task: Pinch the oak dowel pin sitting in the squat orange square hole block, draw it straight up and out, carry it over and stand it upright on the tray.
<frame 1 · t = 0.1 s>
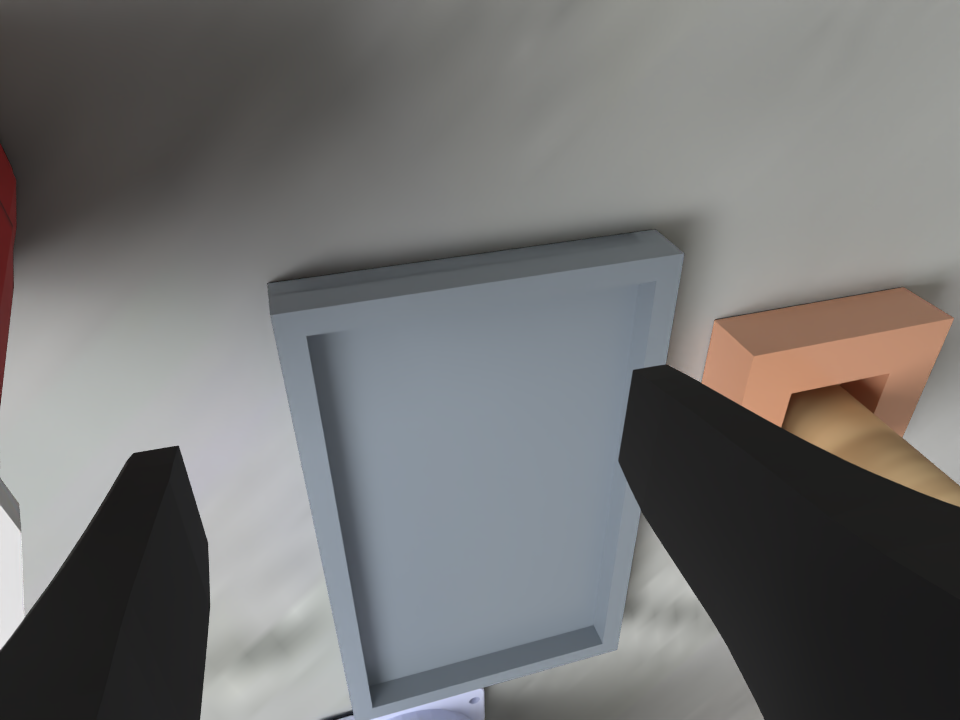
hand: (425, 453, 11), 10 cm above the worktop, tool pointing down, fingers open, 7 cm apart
orange square hole block: (786, 391, 29), on the worktop
tray: (477, 494, 27), on the worktop
dowel pin: (794, 398, 28), resting on orange square hole block
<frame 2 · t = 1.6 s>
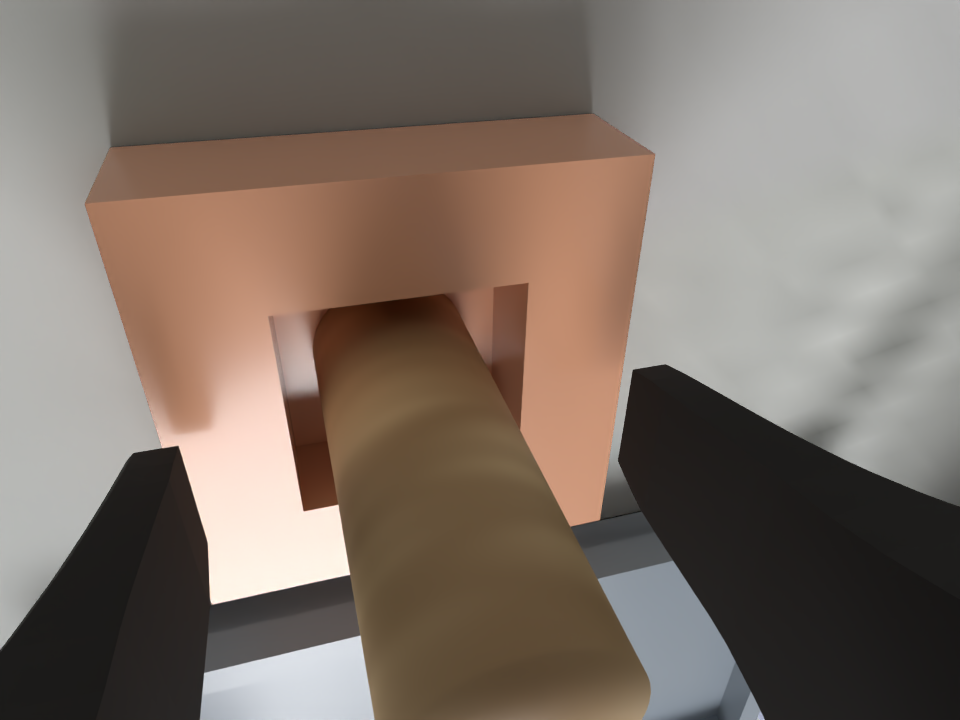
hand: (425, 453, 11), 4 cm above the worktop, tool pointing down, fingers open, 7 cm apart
orange square hole block: (386, 333, 14), on the worktop
tray: (475, 677, 22), on the worktop
dowel pin: (390, 346, 14), resting on orange square hole block
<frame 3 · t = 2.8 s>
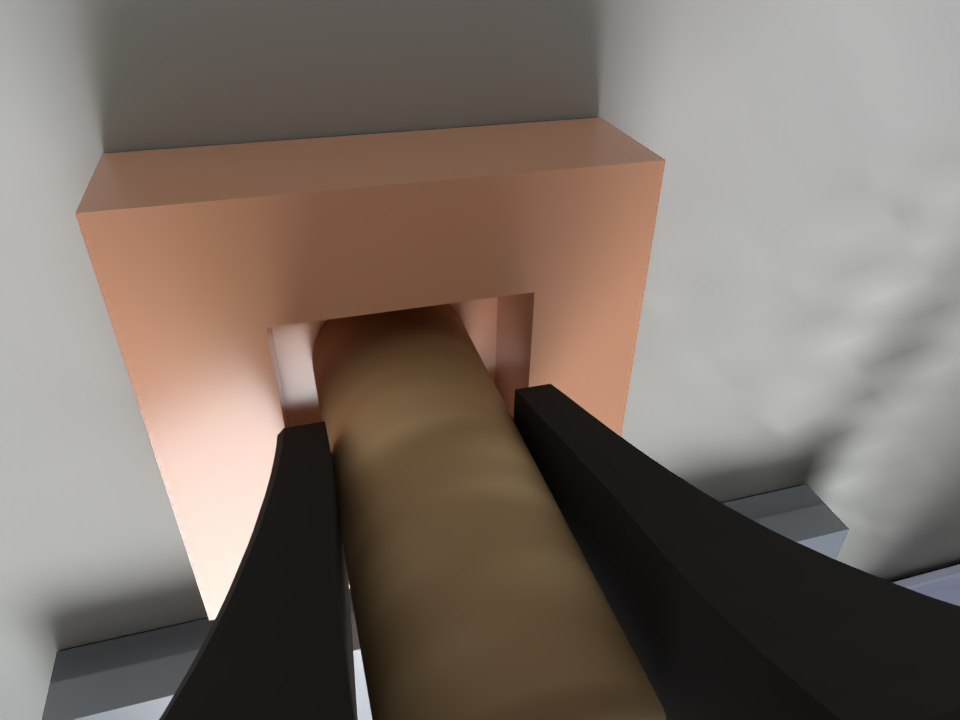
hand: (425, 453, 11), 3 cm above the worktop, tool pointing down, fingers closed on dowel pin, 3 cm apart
orange square hole block: (387, 342, 14), on the worktop
tray: (477, 687, 22), on the worktop
dowel pin: (392, 355, 14), resting on orange square hole block, touching gripper
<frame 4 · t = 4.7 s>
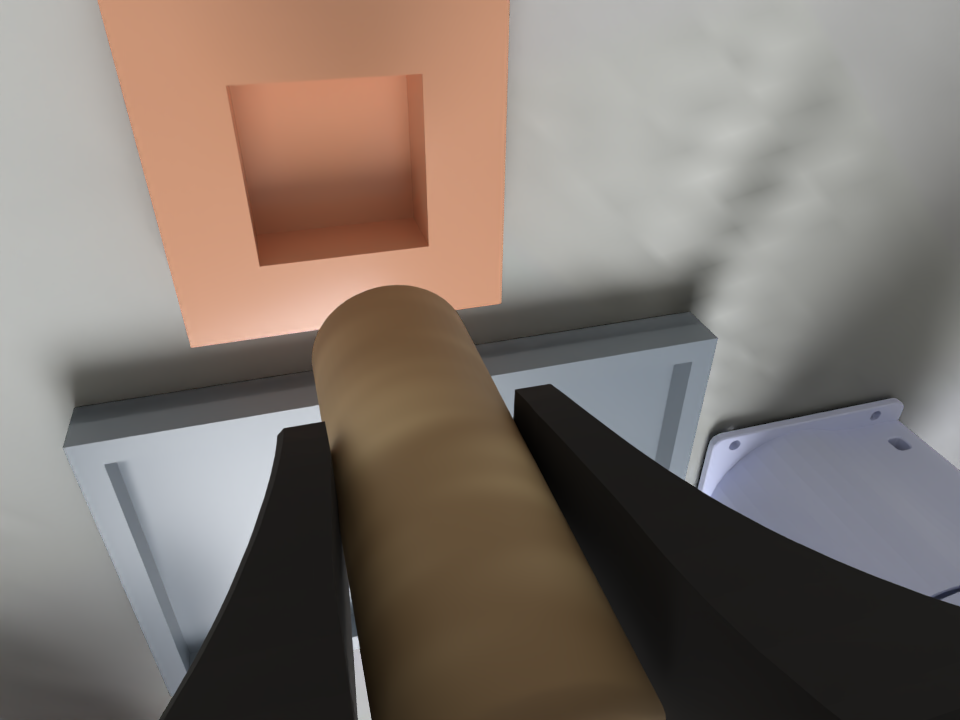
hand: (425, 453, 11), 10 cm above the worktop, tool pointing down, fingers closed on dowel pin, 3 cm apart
orange square hole block: (326, 143, 18), on the worktop
tray: (421, 489, 26), on the worktop
dowel pin: (391, 354, 14), point 7 cm above the worktop, touching gripper
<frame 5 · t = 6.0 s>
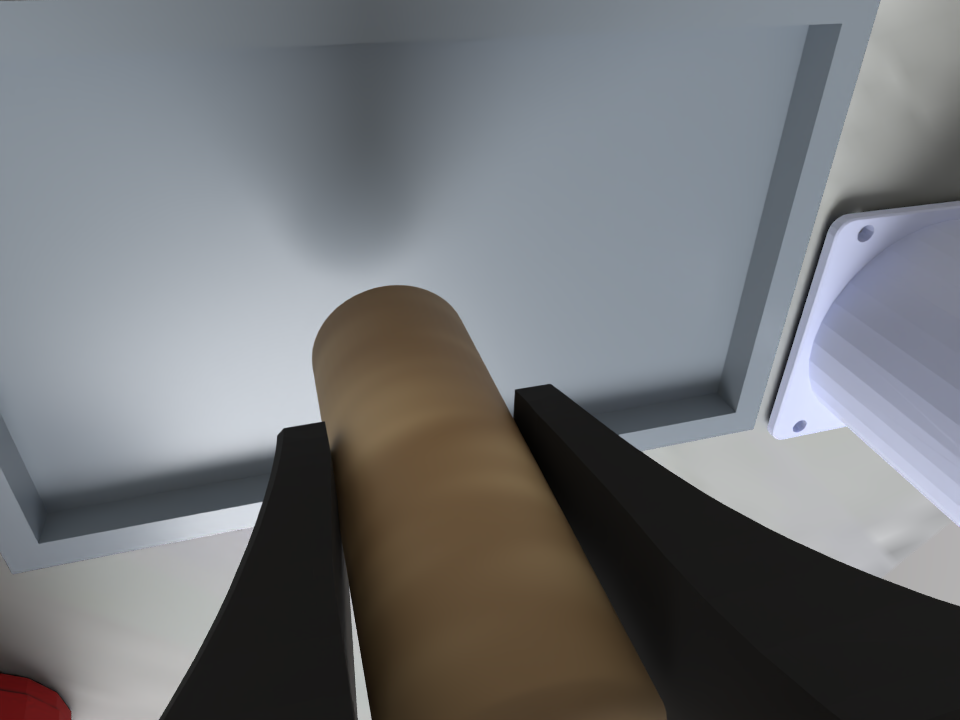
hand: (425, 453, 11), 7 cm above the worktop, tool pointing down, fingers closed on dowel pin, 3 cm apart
tray: (405, 260, 17), on the worktop
dowel pin: (391, 355, 14), point 4 cm above the worktop, touching gripper
when the fingers open (5 cm above the worktop, at t = 7.0 s): dowel pin drops 1 cm, resting on tray.
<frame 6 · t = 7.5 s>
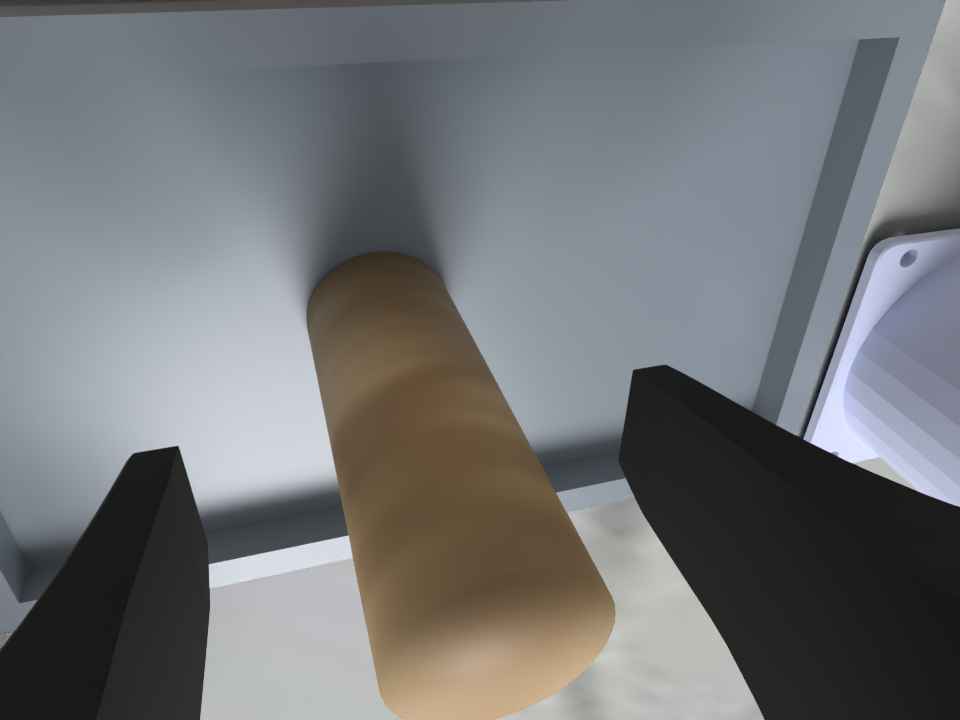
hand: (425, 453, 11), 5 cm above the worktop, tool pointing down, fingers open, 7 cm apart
tray: (417, 293, 16), on the worktop
dowel pin: (380, 316, 15), point 1 cm above the worktop, touching tray
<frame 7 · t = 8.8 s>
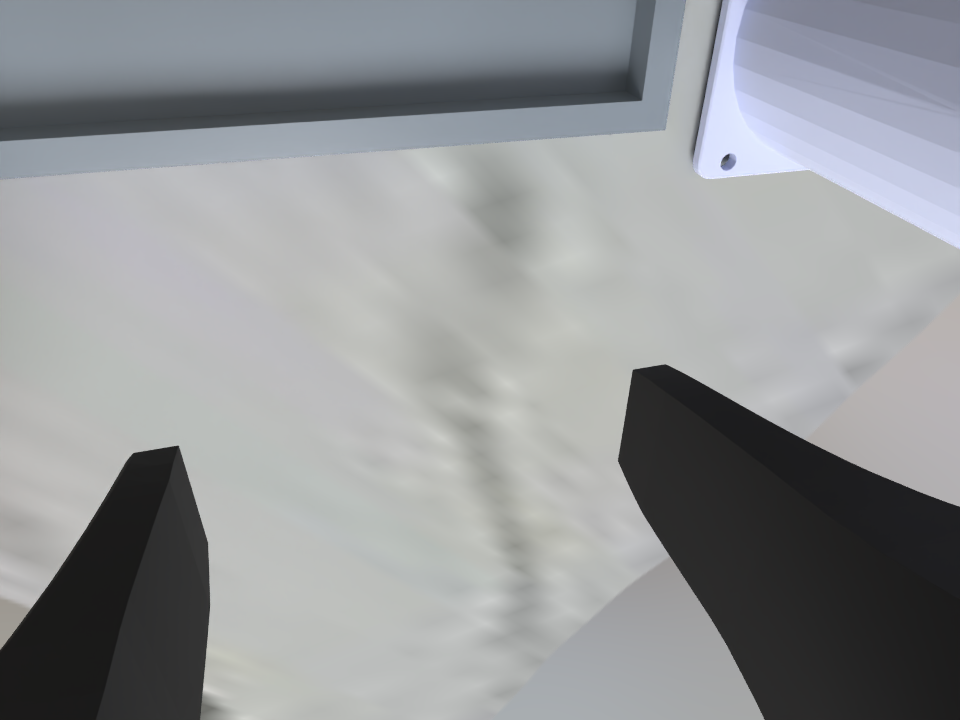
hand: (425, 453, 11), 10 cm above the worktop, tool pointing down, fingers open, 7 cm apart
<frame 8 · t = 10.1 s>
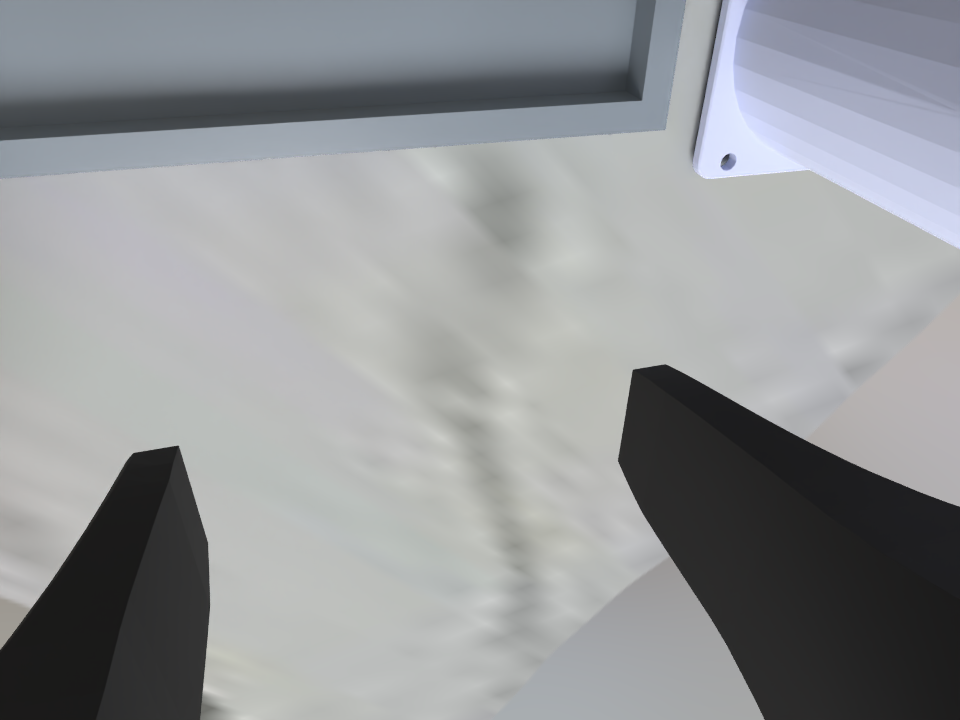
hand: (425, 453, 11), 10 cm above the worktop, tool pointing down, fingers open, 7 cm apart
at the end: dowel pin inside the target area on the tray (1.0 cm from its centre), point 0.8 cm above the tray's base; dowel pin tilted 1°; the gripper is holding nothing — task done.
